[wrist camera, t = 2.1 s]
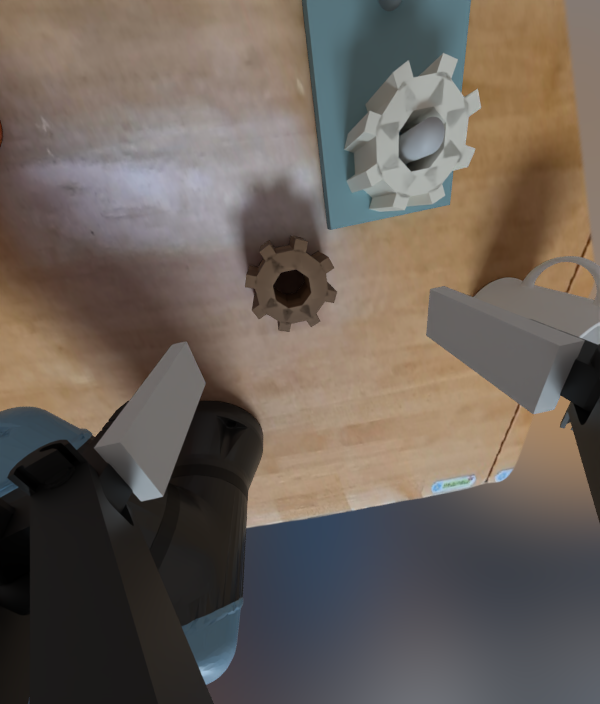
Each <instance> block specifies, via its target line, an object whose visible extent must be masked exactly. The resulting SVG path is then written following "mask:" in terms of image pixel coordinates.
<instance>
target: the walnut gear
mask: <svg viewBox="0 0 600 704" xmlns="http://www.w3.org/2000/svg"><path fill="white" fill-rule="evenodd" d="M307 245H308V241H306V240H304V239H302V238H300V237H295V236H290V242H289V245H286V246H281V247H276V248H274V246H273V245H272V243H271V242H270V240H269V241H267V242H266V243H264V244H263V245H262V246H261V247H260V251H259V252H260V254H261V255H262V257H263V260H262V262H261V263H260V265H259V267H256V266H251V265H250V266H249V269H248V272H247V274H246V283H245V287H248V288H254V289H255V290H256V295H255V296H254V300H253V306H252V311H253V312H254V314H255V315H256V316H257V317H258V319H260V318H261V317H263V316H264V315H266V314H267V315H269V316H271V317H273V318H274V319H276V320H278V329H279V330H280V331H286V332H289V331H290V327H291V324H292V323H297V322H301V321H307V322H308V324H309V325H310V326H311V327H312V326H314V325H315V324H317V323H318V322H320V320H319V318H318V316H317V314H316V313H317V312H318V310H319V309H320V308H321V306H322V305H323V303H324V302H325V301H326V302H331V303H334V301H335V297H336V294H337V291H336V290H335V289H334V288H333V287H332V286H331V285H330V284H329V283H328V282H327V279H326V273H328V272H329V271H331V270H332V269H333V268H334V266H333V264H332V263H331V261H330V259H329V257H327V256H326V255H324V254H323V253H321V252H319V251H317V252H316V253H314V254H313V255H312V256H311V255H309V254H308V253H306V250H307ZM295 269H297V270H298V271H300V272H301V273H302V274H303V277H304V282H303V284H302V285H301V287H300V288H299V290H298V291H297V292H294V293H289V294H284V293H282V292H281V291H279V290H277V289H276V288H274V283H275V281H276V280H277V278H278V276H279V275H280V273H281V272H286V271H290V270H295Z"/></svg>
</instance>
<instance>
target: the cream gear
mask: <svg viewBox="0 0 600 704" xmlns="http://www.w3.org/2000/svg"><path fill="white" fill-rule="evenodd" d="M457 61H458V59H456V58H454V57H451V56H449V55H447V54H445V53H443V54H442V55H441V56H440V57H438V58H437V59H436V60H435V61H434V62H433V63H432V64H431V65H430V66H429V67H428V68H427V69H426V70H425V71H424V72H422V73H421V74H420V75H419V76H418V77H413V74H412V70H411V66H410V63H409V60H408V61H407V62H405V63H404V64H403V65H402V66H400V67H399V68H398V69H397V70H395V71H394V72H393V73H392V74H391V75H390V76H389V78H388V79H387V80H386V81H385V82H384V83H383V85H382V86H381V87H380V88H379V89H378V90H377V92H376V93H375V94H374V95H373V96H372V97H371V98H370V100H369V101H368V102H367V103H366V104H365V105H366V108H367V111H368V113H367V114H366V115H365V116H364V117H363V118H362V119H361V120H360V121H359V122H358V123H357V125H356V126H355V127H354V128H353V129H352V130H351V131H350V132H349V133H348V135H347V140H346V144H345V148H344V150H347V151H350V152H353V153H354V164H355V175H353V176H352V177H351V178H349V179H348V180H347V183H348V186H349V188H350V190H351V192H352V193H353V192H357V191H360V190H364V191H365V192H366V193H367V194H369V195H370V196H371V197H372V201H371V204H370V208H369V209H371V210H375V211H379V212H383V211H399V210H405V209H406V207H408V206H419V205H431V204H434V203H435V202H437V201H438V200H440V199H441V198H442V197H444V196H445V192H444V189H443V185H442V183H443V182H444V181H445V179H446V178H447V177H448V176H449V174H450V173H451V172H452V171H454V170H458V169H461V168H465V167H468V165H469V163H470V161H471V158H472V156H473V154H474V151H475V148H472V147H469V146H467V145H465V143H466V135H467V126H468V118H469V116H471V115H472V114H473V113H475V112H476V111H477V110H479V109H480V108H481V104H480V99H479V93H478V89H477V90H475V91H473V92H472V93H470V94H468V95H467V96H465V97H464V96H463V95H462V93H461V92H460V91H459V89H458V88H457V86H456V85H455V83H454V82H453V81H452V79H451V78H452V75H453V72H454V70H455V67H456V64H457ZM429 117H438V118H439V119H440V120H441V121H442V122H443V125H444V130H445V134H444V139H443V142H442V144H441V146H440V147H439V149H438V150H437V151H436V152H434V153H433V154H431V155H428V156H425V157H423V158H420V159H418V160H415V161H413V162H410V163H408V164H407V166H406V165H405V164H404V163H403V162H402V161H401V160H400V159H399V158H398V156H399V131H400V132H401V133H402V134H403V133H405V132H406V131H408V130H409V129H411V128H413V127H414V126H416V125H417V124H419V123H421V122H422V121H424V120H425V119H427V118H429Z"/></svg>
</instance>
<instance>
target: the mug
mask: <svg viewBox="0 0 600 704" xmlns="http://www.w3.org/2000/svg"><path fill="white" fill-rule="evenodd" d="M560 262H573V263H577V264H579V265H581V266H583V267H585V268H586V269H587V270H588V271H589V272H590V273H591V274H592V276H593V278H594V280H595V282H596V287H597V293H596V297H595V300H592V299H588V298H584V297H580V296H576V295H572V294H568V293H564V292H560V291H556V290H552V289H548V288H544V287H540V286H536V285H534V283H535V281H536V279H537V277H538V276H539V275H540V274H541V273H542V272H543V271H544V270H545V269H546V268H548V267H550V266H551V265H554V264H556V263H560ZM474 298H476V299H479V300H481V301H484V302H487V303H489V304H492V305H494V306H497V307H500V308H502V309H505V310H507V311H510V312H512V313H515V314H518V315H520V316H523V317H525V318H528V319H532V320H535V321H538V322H540V323H543V324H545V325H546V326H551V327H553V328H556V329H557V330H561V331H564V332H566V333H569V334H572V335H574V336H577V337H579V338H582V339H585V340H587V341H590V342H592V343H595V344H598V345H599V344H600V266H599V265H597V264H596V263H594V262H592V261H590V260H588V259H585V258H581V257H575V256H565V257H558V258H554V259H550V260H548V261H545V262H543V263H541V264H540V265H538V266H537V267H535V268H534V269H533V270H532V271H530V272H529V274H528V275H527V276H526V277H525V279H524V280H523V281H522V280H520V279H517V278H511V277H507V278H501V279H498V280H495V281H493V282H491V283H489V284H488V285H486V286H485V287H483V288H482V289H481V290H480V291H479V292H478V293H477V294H476V295H475V296H474Z"/></svg>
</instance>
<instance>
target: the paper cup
mask: <svg viewBox="0 0 600 704" xmlns="http://www.w3.org/2000/svg"><path fill="white" fill-rule="evenodd" d="M2 138H3V131H2V125H1V121H0V146H1V143H2Z"/></svg>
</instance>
